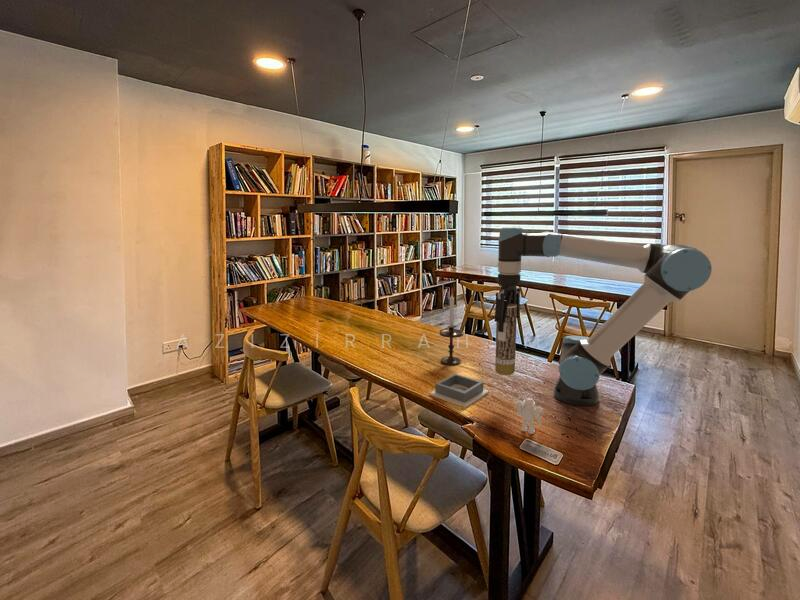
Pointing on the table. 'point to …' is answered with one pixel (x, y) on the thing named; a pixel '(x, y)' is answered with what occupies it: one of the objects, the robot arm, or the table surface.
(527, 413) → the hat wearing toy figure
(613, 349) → the robot arm
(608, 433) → the table surface
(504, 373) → the paper tube
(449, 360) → the candlestick
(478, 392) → the collar stand
